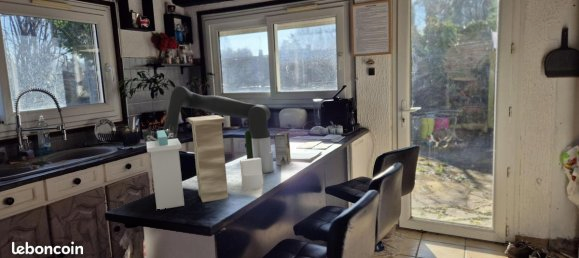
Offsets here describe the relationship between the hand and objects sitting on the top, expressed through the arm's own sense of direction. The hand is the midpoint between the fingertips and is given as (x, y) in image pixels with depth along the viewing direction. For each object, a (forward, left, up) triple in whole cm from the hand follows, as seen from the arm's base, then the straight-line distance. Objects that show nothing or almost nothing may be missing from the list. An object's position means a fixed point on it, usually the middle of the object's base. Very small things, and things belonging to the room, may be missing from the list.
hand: (160, 128), depth 168 cm
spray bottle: (-52, -42, -28) cm, 73 cm away
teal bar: (0, +12, -4) cm, 13 cm away
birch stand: (-17, +19, -28) cm, 38 cm away
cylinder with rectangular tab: (-35, +14, -28) cm, 47 cm away
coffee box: (-62, -22, -28) cm, 72 cm away
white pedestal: (0, +19, -28) cm, 34 cm away
